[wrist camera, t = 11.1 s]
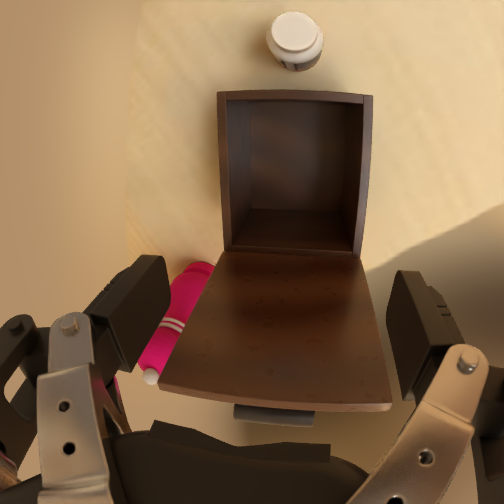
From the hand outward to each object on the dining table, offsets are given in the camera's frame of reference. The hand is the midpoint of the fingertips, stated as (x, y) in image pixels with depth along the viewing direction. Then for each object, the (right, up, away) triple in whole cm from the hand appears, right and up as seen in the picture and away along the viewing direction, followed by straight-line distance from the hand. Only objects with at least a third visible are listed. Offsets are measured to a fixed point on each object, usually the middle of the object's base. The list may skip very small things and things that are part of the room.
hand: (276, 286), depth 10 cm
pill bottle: (+4, +24, +19) cm, 31 cm away
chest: (+5, +12, +25) cm, 28 cm away
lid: (+1, -3, +11) cm, 11 cm away
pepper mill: (-8, -3, +35) cm, 36 cm away
